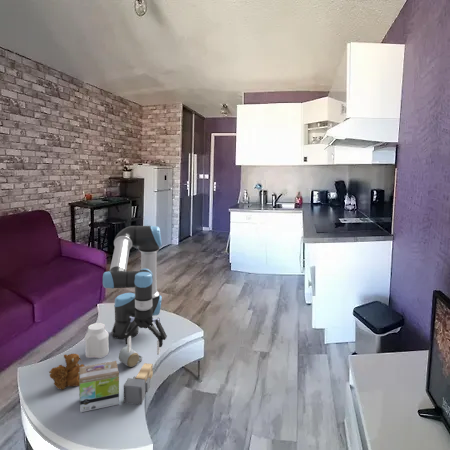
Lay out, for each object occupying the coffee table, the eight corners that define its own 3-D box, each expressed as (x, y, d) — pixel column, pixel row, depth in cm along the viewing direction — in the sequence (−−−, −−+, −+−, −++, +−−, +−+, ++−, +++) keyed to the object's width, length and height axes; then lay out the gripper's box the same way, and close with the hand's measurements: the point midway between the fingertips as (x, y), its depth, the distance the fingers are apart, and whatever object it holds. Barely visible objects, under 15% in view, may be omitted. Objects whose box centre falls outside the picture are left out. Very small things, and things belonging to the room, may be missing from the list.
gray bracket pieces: (133, 385, 157) (133, 368, 155) (150, 386, 156) (150, 370, 155) (123, 402, 145) (123, 385, 144) (141, 404, 144) (141, 386, 143)
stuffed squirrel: (89, 381, 159) (88, 354, 157) (58, 396, 148) (56, 367, 146) (77, 373, 165) (76, 347, 163) (47, 386, 154) (45, 359, 152)
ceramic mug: (127, 370, 168) (127, 355, 167) (118, 363, 173) (118, 349, 172) (145, 361, 176) (145, 347, 175) (136, 356, 181) (136, 342, 180)
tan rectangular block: (144, 374, 165) (144, 363, 164) (152, 375, 165) (152, 363, 164) (135, 390, 153) (135, 378, 152) (144, 391, 153) (144, 378, 152)
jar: (82, 357, 178) (81, 330, 176) (90, 348, 187) (89, 321, 185) (104, 358, 178) (104, 331, 175) (111, 349, 187) (110, 322, 185)
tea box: (80, 414, 138) (78, 379, 135) (79, 398, 147) (78, 366, 144) (119, 405, 144) (119, 371, 141) (116, 390, 153) (116, 359, 150)
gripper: (112, 309, 151) (113, 354, 155) (169, 312, 149) (169, 358, 152) (119, 302, 158) (120, 345, 162) (173, 306, 156) (173, 349, 160)
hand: (144, 352), depth 157 cm, fingers open, 13 cm apart
